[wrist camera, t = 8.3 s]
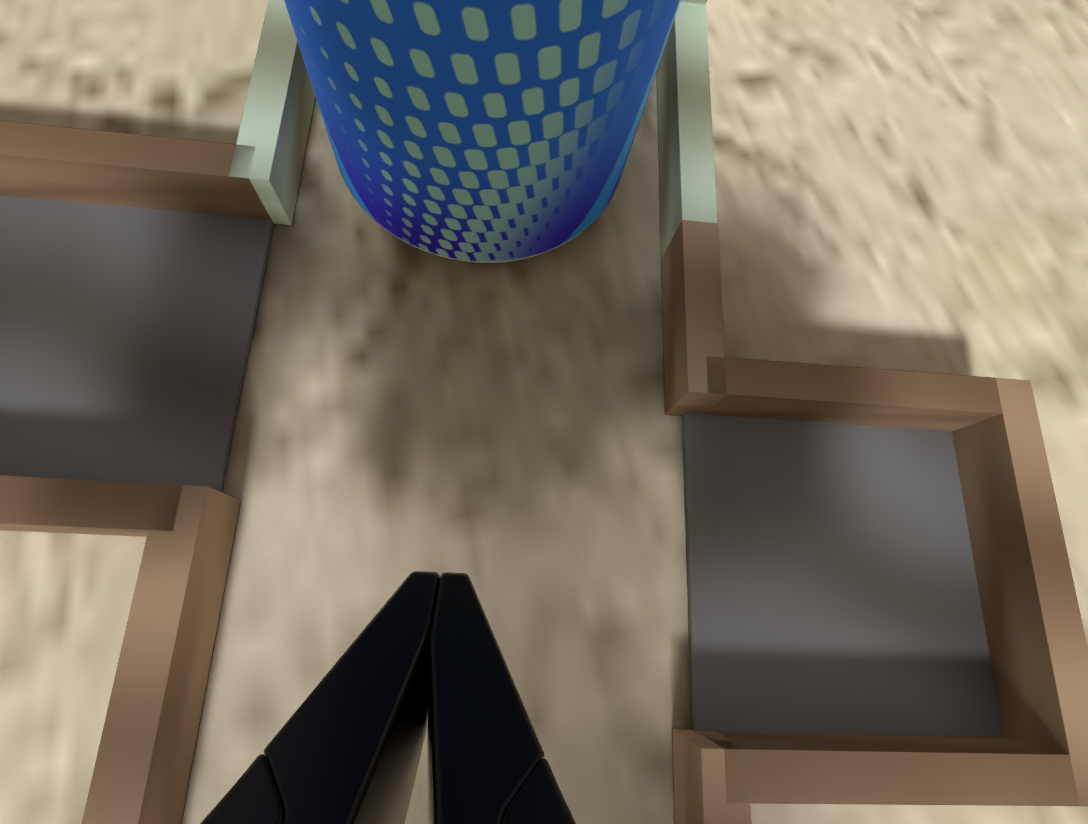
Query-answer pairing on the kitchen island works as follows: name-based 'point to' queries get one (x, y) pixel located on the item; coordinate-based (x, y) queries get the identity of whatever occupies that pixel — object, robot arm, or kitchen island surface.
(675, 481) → the kitchen island surface
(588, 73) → the beer can
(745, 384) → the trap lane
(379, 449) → the kitchen island surface
